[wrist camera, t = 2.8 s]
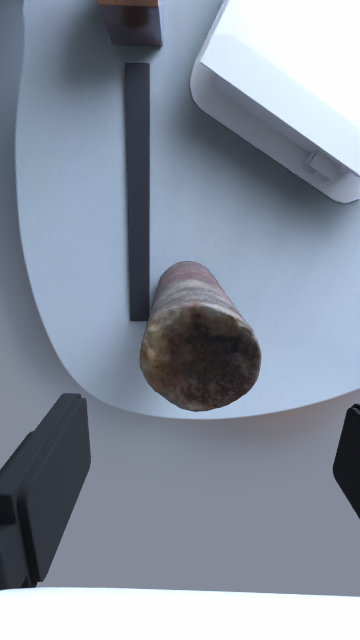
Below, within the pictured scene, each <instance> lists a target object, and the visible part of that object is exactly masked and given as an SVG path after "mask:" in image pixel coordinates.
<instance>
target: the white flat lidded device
mask: <svg viewBox="0 0 360 640" xmlns="http://www.w3.org/2000/svg"><path fill="white" fill-rule="evenodd" d="M190 87H191V93H192V98H193V100H194V101H195V102H196V104H197V105H198V106H199V107H200V109H201V110H202V111H204V112H205V113H207V114H208V115H210V116H211V117H213V118H214V119H216V120H217V121H219V122H220V123H221V124H223V125H224V126H226V127H227V128H229V129H230V130H232V131H233V132H235V133H236V134H238V135H239V136H240V137H242V138H243V139H245V140H246V141H248V142H249V143H251V144H252V145H254V146H255V147H257V148H258V149H260V150H261V151H262V152H264V153H265V154H267V155H268V156H270V157H271V158H273V159H274V160H276V161H277V162H279V163H280V164H281V165H283V166H284V167H286V168H287V169H289V170H290V171H292V172H293V173H295V174H296V175H298V176H299V177H300V178H302V179H303V180H305V181H306V182H308V183H309V184H311V185H312V186H314V187H315V188H317V189H318V190H319V191H321V192H322V193H324V194H325V195H327V196H328V197H330V198H331V199H333V200H334V201H338V202H342V203H349V202H352V201H354V200H357V199H359V198H360V0H224V1H223V3H222V6H221V8H220V10H219V12H218V14H217V16H216V18H215V20H214V22H213V24H212V27H211V29H210V31H209V33H208V35H207V37H206V39H205V41H204V43H203V45H202V48H201V50H200V52H199V54H198V56H197V58H196V60H195V62H194V66H193V70H192V74H191V78H190Z"/></svg>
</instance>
